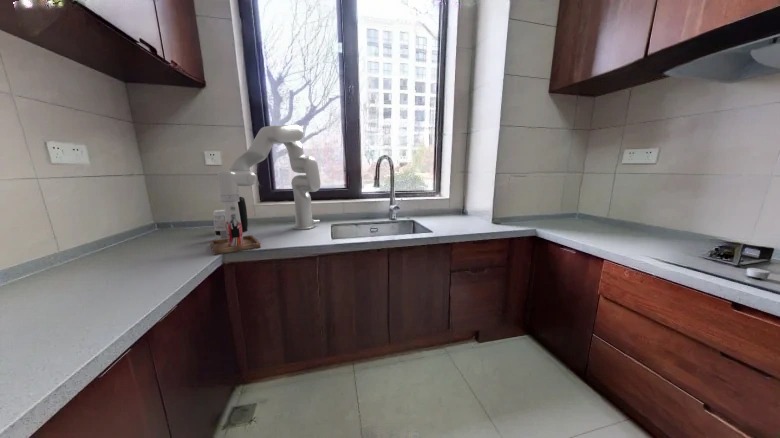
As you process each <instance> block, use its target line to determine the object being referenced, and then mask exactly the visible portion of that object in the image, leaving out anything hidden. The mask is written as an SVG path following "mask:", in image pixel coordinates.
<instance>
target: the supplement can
mask: <svg viewBox="0 0 780 438" xmlns="http://www.w3.org/2000/svg"><path fill="white" fill-rule="evenodd" d="M212 218H213V219H212V220H213V228H214V234H215V240H221V239H227V231H226V222H227V221H226V217H225V210H224V209H216V210H213V213H212Z"/></svg>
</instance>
